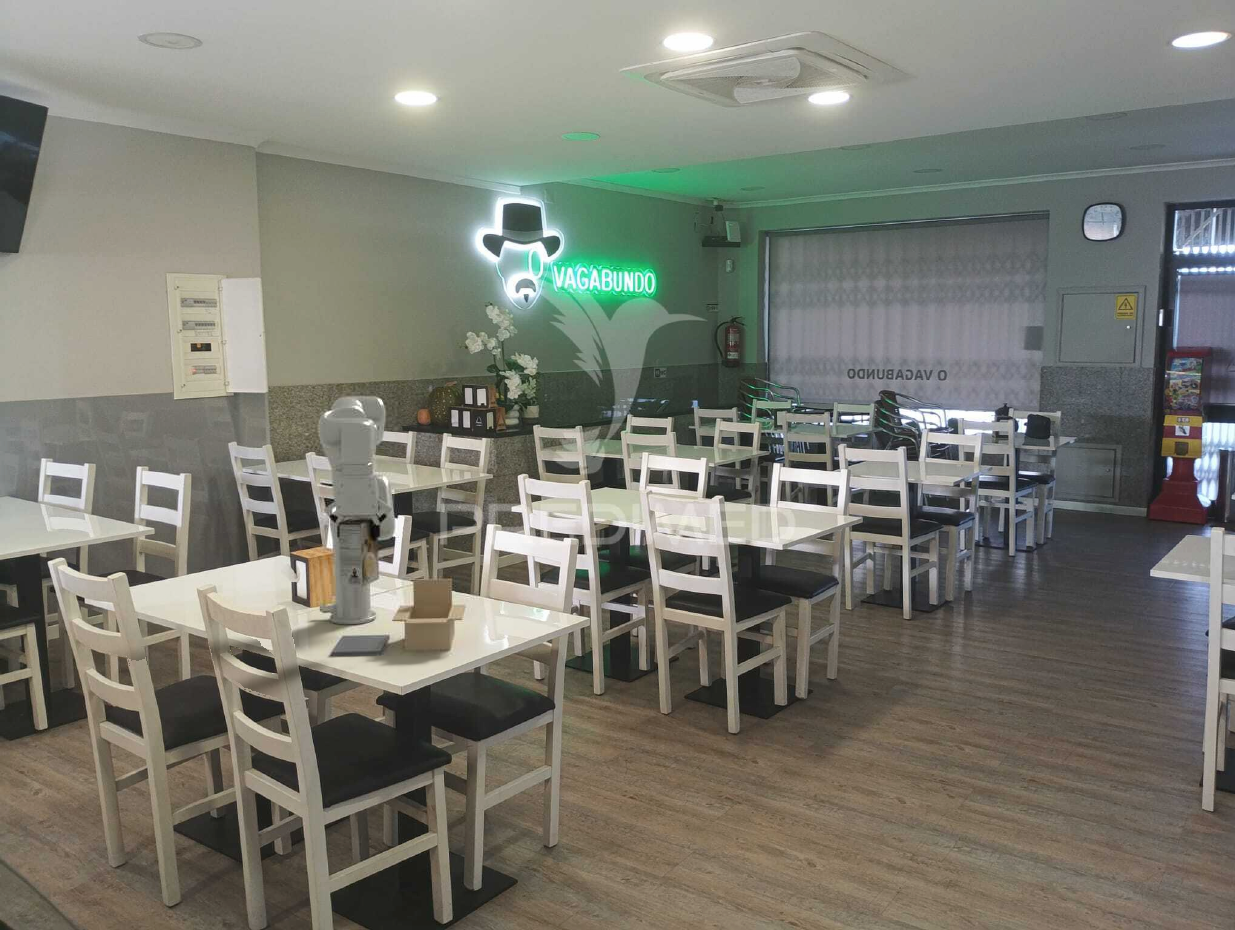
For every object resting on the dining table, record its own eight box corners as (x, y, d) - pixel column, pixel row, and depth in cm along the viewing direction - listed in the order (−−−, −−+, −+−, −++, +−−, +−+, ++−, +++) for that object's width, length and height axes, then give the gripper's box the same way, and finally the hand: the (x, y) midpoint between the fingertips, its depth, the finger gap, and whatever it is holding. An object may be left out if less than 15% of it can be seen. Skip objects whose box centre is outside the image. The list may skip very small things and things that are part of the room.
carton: (390, 654, 233) (389, 595, 231) (400, 635, 250) (399, 579, 248) (461, 653, 234) (460, 594, 233) (466, 633, 251) (465, 578, 250)
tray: (331, 655, 231) (331, 651, 231) (342, 639, 245) (342, 635, 245) (381, 654, 233) (381, 650, 232) (389, 638, 246) (389, 634, 246)
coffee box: (356, 578, 242) (355, 516, 241) (379, 579, 241) (378, 517, 239) (339, 586, 233) (337, 522, 232) (363, 587, 232) (361, 523, 230)
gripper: (318, 472, 230) (320, 543, 232) (390, 471, 231) (392, 542, 233) (324, 468, 237) (326, 537, 239) (395, 468, 239) (396, 537, 241)
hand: (359, 539), depth 236 cm, fingers closed on coffee box, 7 cm apart
